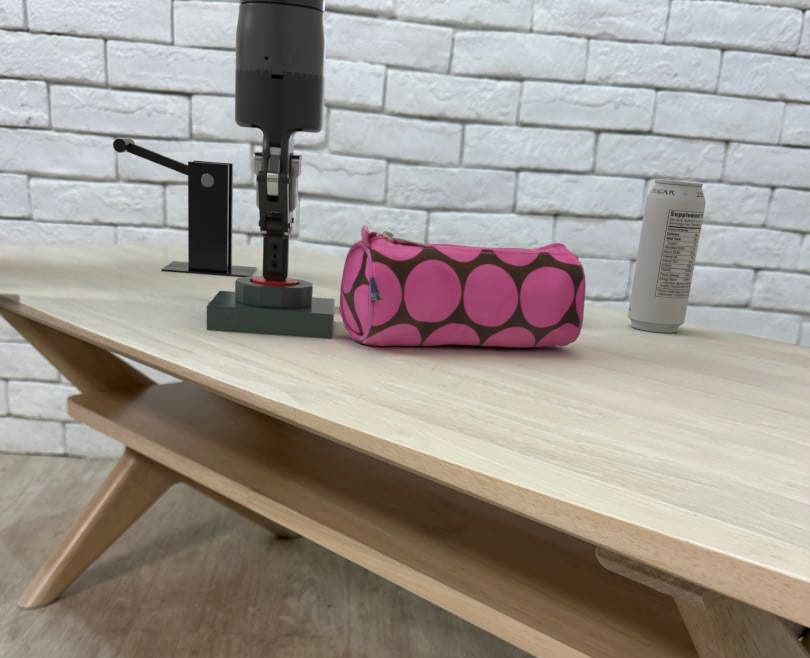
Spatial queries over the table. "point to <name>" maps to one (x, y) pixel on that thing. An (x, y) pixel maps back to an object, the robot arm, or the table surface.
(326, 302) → the control box
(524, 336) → the pencil case
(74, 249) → the table surface
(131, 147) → the switch lever
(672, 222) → the energy drink can
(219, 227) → the switch bracket
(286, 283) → the button
